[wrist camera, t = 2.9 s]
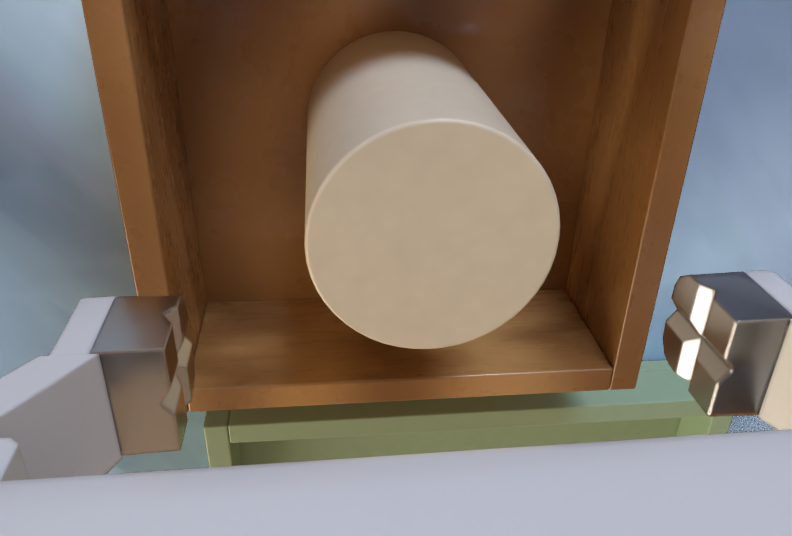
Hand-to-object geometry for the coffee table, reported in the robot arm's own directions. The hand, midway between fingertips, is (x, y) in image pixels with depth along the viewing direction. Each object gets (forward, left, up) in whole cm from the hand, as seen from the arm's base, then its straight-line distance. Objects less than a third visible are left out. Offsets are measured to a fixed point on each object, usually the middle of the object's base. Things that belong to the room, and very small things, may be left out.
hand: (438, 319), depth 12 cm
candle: (0, 0, -10) cm, 10 cm away
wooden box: (0, 0, -11) cm, 11 cm away
